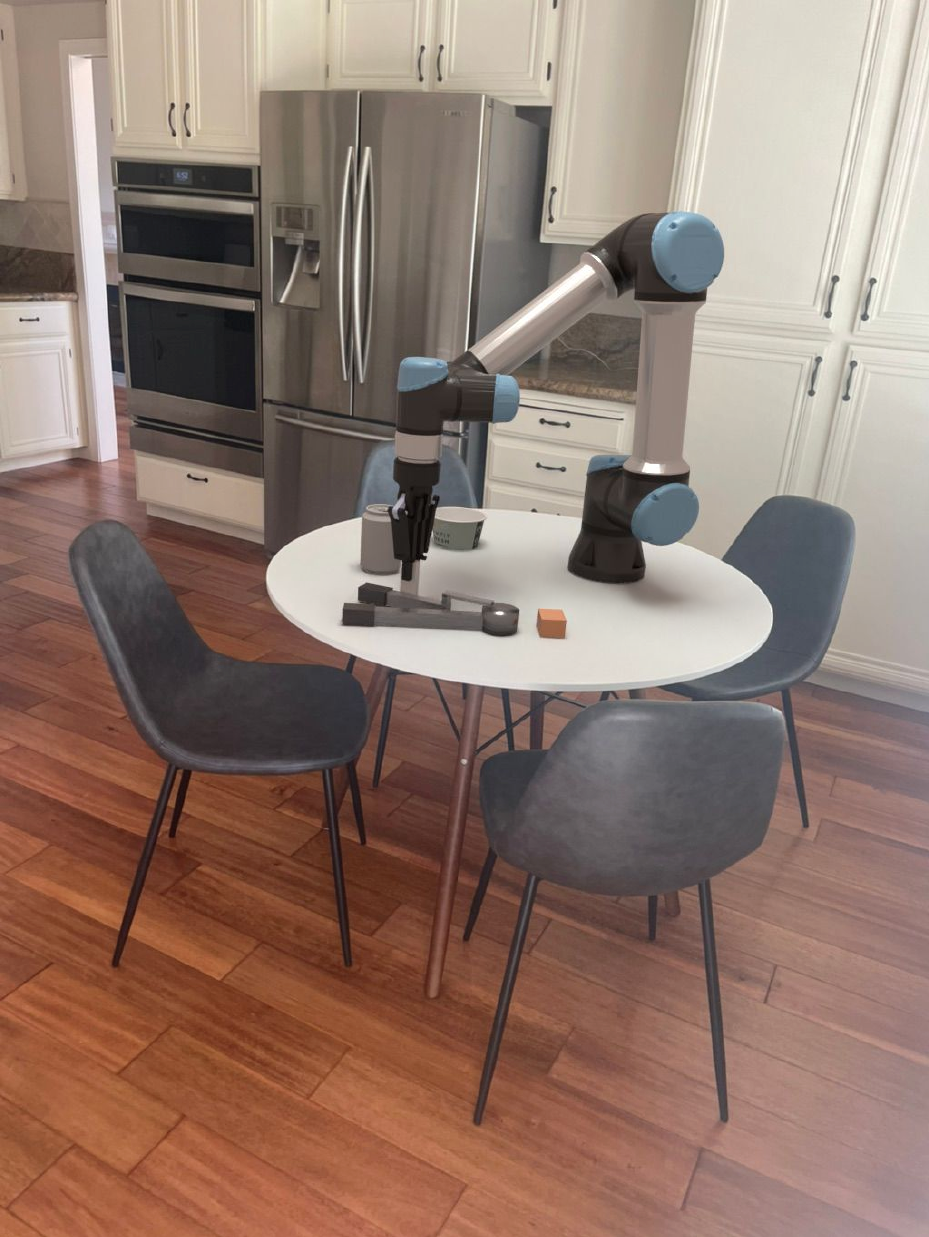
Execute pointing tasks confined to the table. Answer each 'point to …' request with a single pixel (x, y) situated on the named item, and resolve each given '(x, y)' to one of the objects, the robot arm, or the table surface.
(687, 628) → the table surface
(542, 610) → the terracotta clay cube
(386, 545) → the can
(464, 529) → the food container
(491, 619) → the tongs fixed
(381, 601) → the tongs arm
